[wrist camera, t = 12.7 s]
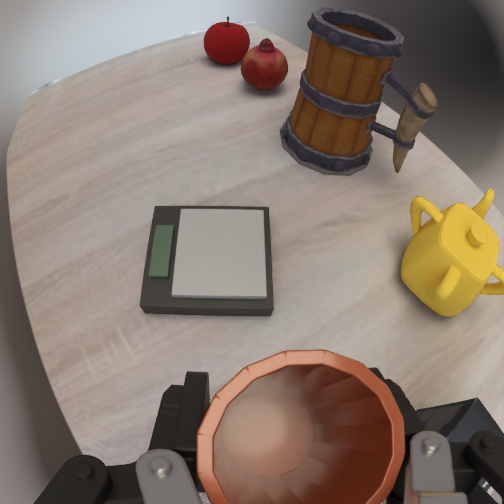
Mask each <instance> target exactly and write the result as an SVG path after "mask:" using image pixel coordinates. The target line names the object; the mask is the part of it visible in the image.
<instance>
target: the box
mask: <svg viewBox="0 0 504 504" xmlns="http://www.w3.org/2000/svg"><path fill="white" fill-rule="evenodd" d="M416 413H417V414H418V416H419V417H420V419H421V421H422V422H423V424H424V425H425V427H426V429H427V430H428V431H434V432H437V433H440V434H441V435H443V436H444V437H445V438H446V439H447V440H448V442H469V440H470V438H471V437H472V435H473V434H474V433H475V432H477V431H480V430H489V431H492V432H494V433H496V434H497V435H498V436H500V437H501V438H502V439H503V440H504V433H503V432H502V431H501V429H500V428H499V426H498V425H497V423H496V422H495V421H494V419H493V418H492V416H491V415H490V414H489V412H488V411H487V410H486V408H485V407H484V405H483V404H482V403H481V401H480V400H479V399H478V398H474V399H470V400H465V401H460V402H456V403H451V404H446V405H441V406H435V407H430V408H424V409H418V411H417V412H416ZM479 484H480V485H481V487H482V488H483V489H484V490H485V491H487V490H488V489H489V488H490V486H491V485H490V484H489V483H488V482H487V481H486V480H485V479H484V478H483V479H482V480H481V481H480V482H479Z"/></svg>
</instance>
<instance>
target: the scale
mask: <svg viewBox="0 0 504 504" xmlns="http://www.w3.org/2000/svg"><path fill="white" fill-rule="evenodd" d="M140 307H141V308H142V309H143V311H144V312H145V313H158V314H183V315H220V316H271V314H272V311H273V285H272V263H271V241H270V221H269V207H239V206H155V209H154V214H153V220H152V226H151V231H150V237H149V243H148V250H147V256H146V263H145V269H144V276H143V284H142V292H141V300H140Z"/></svg>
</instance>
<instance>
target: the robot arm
mask: <svg viewBox="0 0 504 504" xmlns="http://www.w3.org/2000/svg"><path fill="white" fill-rule="evenodd" d="M368 369H369V370H370V371H372V372H373V373H374V374H375V375H376V376H377V377H378V378H379V379H381V380H382V381H383V382H384V383H385V384H386V385H387V386H388V387H389V388H390V391H391V393H392V395H393V397H394V399H395V401H396V403H397V405H398V407H399V410H400V412H401V414H402V416H403V420H404V433H405V455H404V456H405V457H404V460H403V463H402V465H401V468H400V471H399V474H398V476H397V479H396V481H395V484H394V487H393V489H392V490H391V492H390V494H389V495H388V496H387V497H386V498H385V499H384V501H383V502H382V504H498V503H497V502H496V501H495V500H494V499H493V498H492V497H491V496H490V495H489V494H488V493H487V492H486V491H485V490H484V489H483V488H482V487H481V485H480V484H479V482H480V481H481V480H482V479H483V478H484V479H485V480H486V481H487V482H488V483H489V484H490V485H491V486H492V487H493V489H494V490H495V491H496V492H497V493H498V494H499V495H500V496H501V497H502V504H504V440H503V439H502V438H501V437H500V436H498V435H497V434H496V433H494V432H492V431H489V430H480V431H477V432H475V433H474V434H473V435H472V437H471V438H470V440H469V442H448V440H447V439H446V438H445V437H444V436H443V435H441V434H440V433H437V432H434V431H428V430H427V429H426V427H425V425H424V424H423V422H422V421H421V419H420V417H419V416H418V414H417V413H416V411H415V410H414V408H413V406H412V405H410V402H409V400H408V399H407V397H405V394H404V392H403V391H402V389H401V388H400V386H398V385H397V384H396V383H394V382H393V381H392V380H390V379H384V377H383V376H382V374H381V373H380V371H379V369H378V368H376V367H375V368H368ZM209 405H210V395H209V375H208V372H189V371H187V373H186V378H185V383H184V385H171V386H170V387H169V388H168V389H167V390H166V391H165V392H164V393H163V396H162V400H161V403H160V407H159V411H158V416H157V418H156V422H155V426H154V430H153V434H152V438H151V442H150V446H149V449H148V451H147V452H146V453H144V454H143V455H141V456H140V458H139V459H138V460H137V461H136V462H134V463H130V464H125V465H115V466H105V464H104V463H103V462H102V461H101V460H100V459H98V458H96V457H94V456H90V455H79V456H75V457H72V458H70V459H69V460H68V461H67V462H65V463H64V465H63V466H62V467H61V469H60V470H59V471H58V473H57V474H56V475H55V476H54V478H53V479H52V480H51V482H50V483H49V484H48V486H47V487H46V488H45V490H44V491H43V492H42V493H41V495H40V496H39V497H38V499H37V500H36V501H35V503H34V504H203V502H202V500H201V498H200V496H199V493H198V492H204V493H205V490H204V488H203V486H202V484H201V482H200V480H199V478H198V475H197V474H198V473H197V459H196V451H197V434H198V433H197V431H198V429H199V427H200V425H201V423H202V420H203V418H204V416H205V414H206V412H207V410H208V407H209Z"/></svg>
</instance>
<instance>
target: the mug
mask: <svg viewBox="0 0 504 504" xmlns="http://www.w3.org/2000/svg"><path fill="white" fill-rule="evenodd" d="M307 24H308V27H309V29H310V30H312V37H311V42H310V48H309V53H308V59H307V64H306V69H305V70H304V71H303V72H302V74H301V79H300V89H299V92H298V95H297V99H296V102H295V105H294V108H293V110H292V111H291V112H290V115H289V116H288V118H287V119H286V122H285V123H284V124H283V126H282V127H281V128H280V133H281V139H282V145H283V148H284V149H285V150H286V151H287V152H288V153H289V154H290V155H291V156H292V157H293V158H294V159H295V160H296V161H297V162H298V163H299V164H301V165H304V166H306V167H308V168H311V169H313V170H316V171H318V172H320V173H322V174H331V175H351V174H353V173H355V172H358V171H360V170H362V169H364V168H366V167H367V165H368V163H369V160H370V157H371V154H372V152H373V149H372V147H371V144H372V141H373V137H372V135H371V133H372V130H373V131H375V132H377V133H380V134H382V135H384V136H386V137H388V138H390V139H393V143H394V153H393V163H394V167H395V172H396V173H399V170H400V168H401V166H402V163H403V161H404V159H405V157H406V155H407V153H408V151H409V150H411V149H412V148H413V146H414V142H415V137H416V135H417V134H418V132H419V130H420V129H421V128H422V126H423V125H424V123H425V122H426V120H427V119H429V118H430V117H431V116H432V115H433V113H434V110H435V109H436V108H437V100H436V98H435V96H434V93H433V92H432V90H431V89H430V88H429V87H428V86H427V85H426V84H423V83H420V85H419V86H418V87H417V89H416V90H415V91H414V93H413V92H411V91H410V90H409V89H408V88H407V87H406V86H405V85H404V84H403V83H402V82H400V80H398V79H397V78H396V77H395V76H394V75H393V74H392V73H391V72H392V69H390V68H391V65H392V62H393V59H394V57H400V56H402V55H403V54H404V48H403V47H402V44H403V40H404V37H403V36H402V35H401V34H400V33H399V32H398V31H397V30H396V29H395V28H393V27H391V26H390V25H388V24H386V23H384V22H383V21H381V20H379V19H377V18H374V17H371V16H368V15H366V14H363V13H360V12H356V11H351V10H346V9H341V8H320V9H318V10H316V11H314V12H313V13H312V17H311V19H310V20H309V21H308V23H307ZM385 83H389V84H390V85H391V86H392V87H393V88H394V89H396V90H397V91H398V92H399V93H400V94H401V95H402V96H403V97H404V98H406V99H407V103H406V105H405V108H404V110H403V112H402V114H401V116H400V119H399V122H398V126H397V130H396V131H395V130H392V129H390V128H388V127H386V126H384V125H381V124H379V123H377V122H375V120H376V114H377V112H378V109H379V107H380V104H381V101H382V99H383V96H384V93H383V91H382V90H383V87H384V84H385Z"/></svg>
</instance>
